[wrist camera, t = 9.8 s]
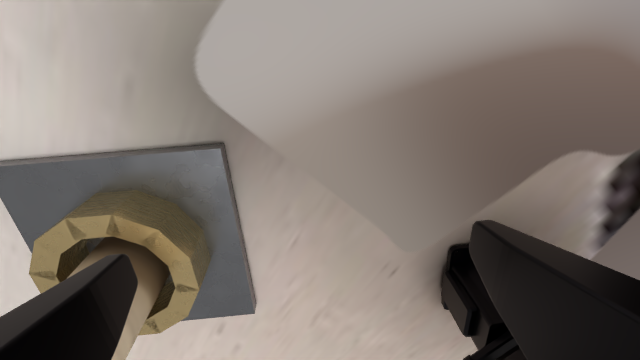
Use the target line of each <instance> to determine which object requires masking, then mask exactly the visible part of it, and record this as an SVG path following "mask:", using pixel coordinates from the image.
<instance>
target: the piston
mask: <svg viewBox="0 0 640 360" xmlns="http://www.w3.org/2000/svg"><path fill="white" fill-rule="evenodd" d="M113 254H126V255H128V256H129V258H130V261H131V263H132V266H133V268H134V271H135V273H136V275H137V279H138V287H137V290H136V293H135V296H134V299H133V302H132V305H131V308H130V311H129V314H128V317H127V320H126V323H125V326H124V329H123V332H122V335H121V338H120V340H119V343H118V346H117V348H116V350H115V353H114V355H113V357H112V360H125V359H126V357H127V355H128V353H129V351H130V350H131V348H132V346H133V344H134V342H135V340H136V338H137V336H138V334H139V332H140V330H141V328H142V326H143V324H144V322H145V320H146V319H147V317H148V315H149V313H150V311H151V309H152V307H153V305H154V303H155V301H156V299H157V297H158V295H159V293H160V291H161V290H162V288H163V286H164V284H165V282H166V280H167V278H168V276H169V274H170V270H169V267H168V265H167V264H165V263H164V262H163V261H162V260H161V259H160V258H158V257H157V256H156V255H155V254H154V253H153V252H151V251H150V250H149V249H148V248H147V247H146V246H142V245H139V244H136V243H133V242H130V241H127V240H124V239H120V238H117V237H114V236H112V237H104V239H103V240H102V241H101V242H100V243H99V244H98V245H97V246H96V247H95V248H94V249H93V251H92V252H91V253H90V254H89V255H88V256H87V257H86V258H85V259H84V260H83V261H82V262H81V264H80V265H79V266H78V267H77V268H76V269H75V270H74V271H73V272H72V273H71V274H70V275H69V277H71V276H72V275H74V274H76V273H78V272H79V271H81V270H83V269H85V268H86V267H88V266H90V265H92V264H93V263H95V262H97V261H98V260H100V259H102V258H104V257H105V256H107V255H113ZM69 277H68V278H69Z"/></svg>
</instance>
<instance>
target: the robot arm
mask: <svg viewBox="0 0 640 360" xmlns="http://www.w3.org/2000/svg"><path fill="white" fill-rule="evenodd" d="M457 251H458V252H457ZM455 252H457V253H455ZM137 287H138V279H137V275H136V273H135V271H134V268H133V266H132V263H131V261H130V258H129V256H128V255H126V254H113V255H107V256H105V257H104V258H102V259H100V260H98V261H97V262H95V263H93V264H92V265H90V266H88V267H86V268H85V269H83V270H81V271H79V272H78V273H76V274H74V275H72V276H71V277H69V278H67V279H66V280H64V281H62V282H60V283H59V284H57V285H55V286H53V287H52V288H50V289H48V290H46V291H45V292H43V293H41V294H39V295H38V296H36V297H34V298H33V299H31V300H29V301H27V302H26V303H24V304H22V305H20V306H19V307H17V308H15V309H13V310H12V311H10V312H8V313H6V314H5V315H3V316H1V317H0V360H112V357H113V355H114V353H115V350H116V348H117V346H118V343H119V340H120V338H121V335H122V332H123V329H124V326H125V323H126V320H127V317H128V314H129V311H130V308H131V305H132V302H133V299H134V296H135V293H136V290H137ZM441 296H442V305H443V307H444V309H446V310H450V312H451V314H452V316H453V318H454V319H455V321H456V323H457V325H458V327H459V329H460V330H461V332H462V334H463V335H464V336H465V337H471V338H472V340H473V342H474V344H475V345H476V347H477V349H478V351H477V352H475V353H474V354H472V355H471V356H470V355H468V356H467V357H465V358H464V359H463V360H640V280H637V279H635V278H632V277H630V276H627V275H625V274H623V273H620V272H618V271H615V270H613V269H610V268H608V267H605V266H603V265H600V264H598V263H596V262H593V261H591V260H588V259H586V258H583V257H581V256H578V255H576V254H573V253H571V252H569V251H566V250H564V249H561V248H559V247H556V246H554V245H551V244H549V243H546V242H544V241H541V240H539V239H537V238H534V237H532V236H529V235H527V234H524V233H522V232H519V231H517V230H514V229H512V228H510V227H507V226H505V225H502V224H500V223H497V222H495V221H492V220H483V221H476V222H475V223H474V224H473V226H472V232H471V237H470V243H469V244H467V245H457V246H453V247H451V248H450V250H449V254H448V261H447V268H446V271H445V272H444V277H443V284H442V291H441Z"/></svg>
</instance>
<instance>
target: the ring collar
mask: <svg viewBox="0 0 640 360" xmlns="http://www.w3.org/2000/svg"><path fill="white" fill-rule="evenodd" d="M0 198H1V199H2V201H3V203H4V205H5V206H6V208H7V210H8V212H9V214H10V215H11V217H12V219H13V221H14V222H15V224H16V226H17V228H18V230H19V231H20V233H21V235H22V237H23V238H24V240H25V242H26V244H27V246H28V247H29V249H30V251H31V253H32V259H31V265H30V271H29V274H30V276H31V278H32V279H33V281H34V283H35V284H36V286H37V288H38V290H39V291H40V293H43V292H45V291H46V290H48V289H50V288H52V287H53V286H55V285H57V284H59V283H60V282H62V281H64V280H66V279H67V278H68V277H69V275H70V274H71V273H72V272H73V271H74V270H75V269H76V268H77V267H78V266H79V265H80V264H81V262H82V261H83V260H84V259H85V258H86V257H87V256H88V255H89V254H90V253H91V252H92V251H93V249H94V248H95V247H96V246H97V245H98V244H99V243H100V242H101V241H102V240H103V239H104V237H112V236H114V237H117V238H120V239H124V240H127V241H130V242H133V243H136V244H139V245H142V246H146V247H147V248H148V249H149V250H150V251H151V252H153V253H154V254H155V255H156V256H157V257H158V258H160V259H161V260H162V261H163V262H164V263H165V264H167V265H168V267H169V270H170V274H169V276H168V278H167V280H166V282H165V284H164V286H163V288H162V290H161V291H160V293H159V295H158V297H157V299H156V301H155V303H154V305H153V307H152V309H151V311H150V313H149V315H148V317H147V319H146V320H145V322H144V324H143V326H142V328H141V330H140V332H139V334H138V335H147V334H157V333H161V332H162V331H164V330H166V329H167V328H169V327H171V326H173V325H174V324H176V323H178V322H179V321H185V320H195V319H205V318H215V317H225V316H235V315H245V314H255V308H256V301H255V296H254V291H253V286H252V281H251V276H250V271H249V266H248V261H247V256H246V251H245V246H244V241H243V236H242V231H241V226H240V221H239V216H238V212H237V207H236V202H235V197H234V192H233V187H232V182H231V177H230V172H229V167H228V162H227V157H226V152H225V147H224V143H221V144H208V145H196V146H183V147H171V148H158V149H146V150H134V151H121V152H109V153H96V154H84V155H72V156H59V157H47V158H34V159H22V160H9V161H0Z"/></svg>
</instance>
